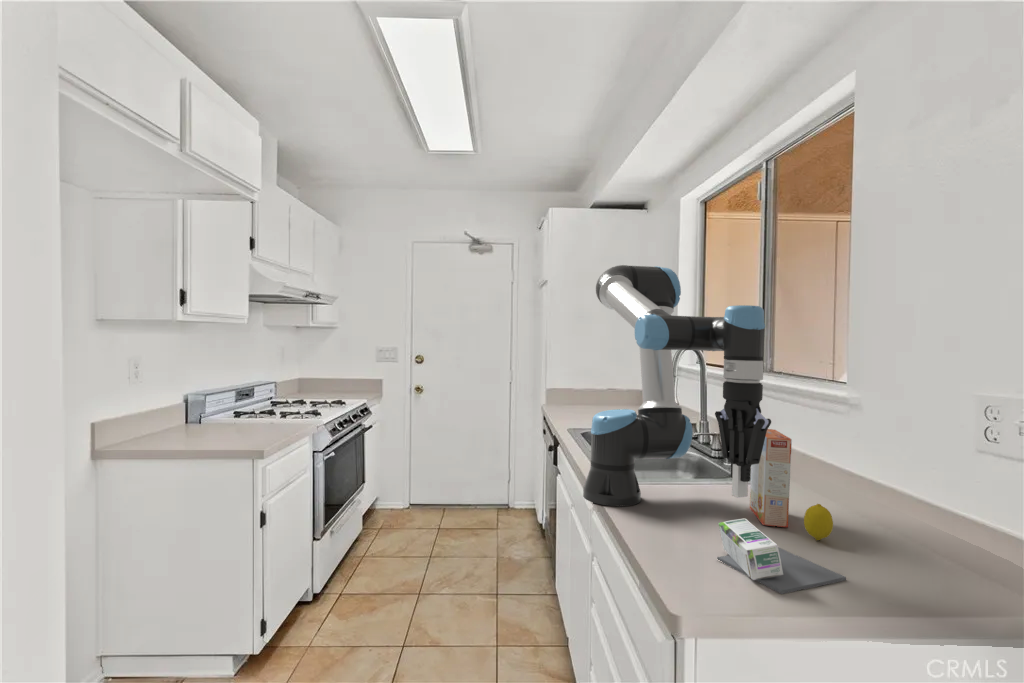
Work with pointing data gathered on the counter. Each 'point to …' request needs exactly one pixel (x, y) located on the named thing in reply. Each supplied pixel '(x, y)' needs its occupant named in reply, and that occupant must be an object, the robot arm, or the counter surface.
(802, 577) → the mat
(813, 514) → the lemon
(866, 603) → the counter surface
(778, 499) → the cracker box
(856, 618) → the counter surface
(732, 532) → the syrup box
